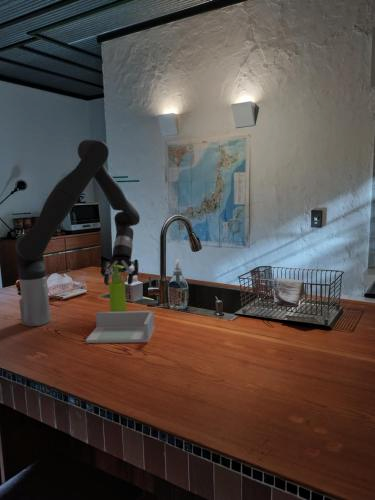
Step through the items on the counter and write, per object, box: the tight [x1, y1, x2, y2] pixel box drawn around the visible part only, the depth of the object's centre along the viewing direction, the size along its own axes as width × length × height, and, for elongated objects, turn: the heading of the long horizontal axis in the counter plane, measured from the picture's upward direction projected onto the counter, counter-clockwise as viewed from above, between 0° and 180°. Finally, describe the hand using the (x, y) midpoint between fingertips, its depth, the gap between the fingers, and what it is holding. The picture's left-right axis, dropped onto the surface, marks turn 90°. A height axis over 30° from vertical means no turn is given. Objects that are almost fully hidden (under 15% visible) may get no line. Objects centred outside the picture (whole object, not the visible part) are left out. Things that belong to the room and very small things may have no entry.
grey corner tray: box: [85, 310, 155, 344], centre depth 128 cm, size 20×13×6 cm, turn 87°
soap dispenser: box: [108, 265, 127, 312], centre depth 146 cm, size 6×7×20 cm
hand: (117, 284), depth 145 cm, fingers open, 8 cm apart
